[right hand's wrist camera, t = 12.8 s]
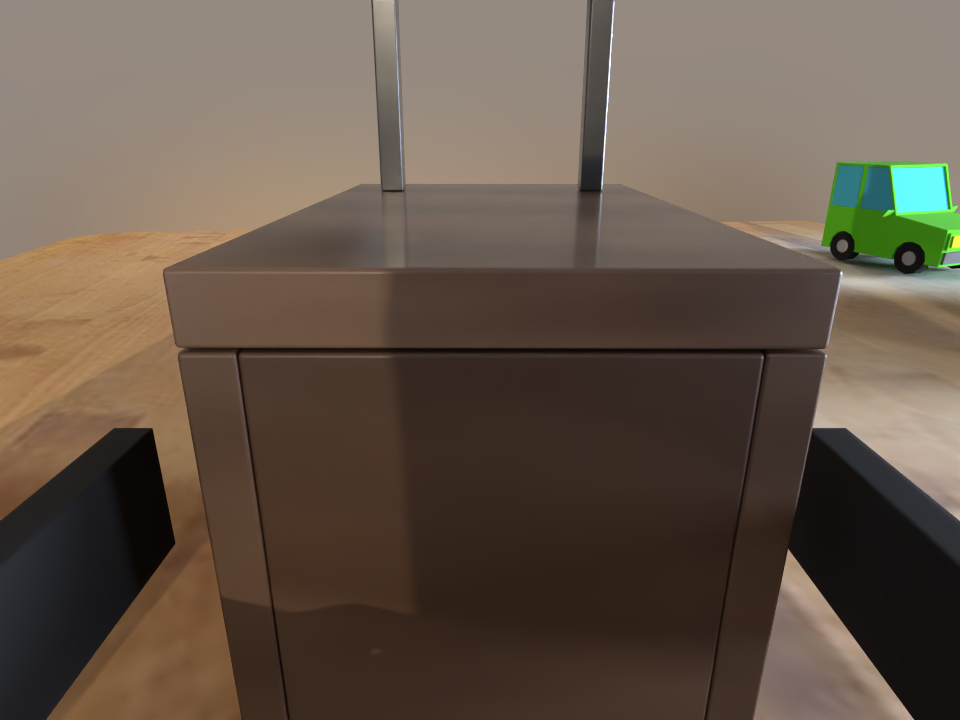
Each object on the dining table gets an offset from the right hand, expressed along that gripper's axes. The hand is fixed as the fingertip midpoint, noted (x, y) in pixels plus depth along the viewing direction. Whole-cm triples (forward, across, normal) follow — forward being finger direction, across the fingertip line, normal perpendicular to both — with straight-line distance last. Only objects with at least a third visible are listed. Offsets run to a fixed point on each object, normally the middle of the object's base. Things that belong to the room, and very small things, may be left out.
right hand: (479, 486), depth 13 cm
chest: (+4, 0, -7) cm, 8 cm away
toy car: (+54, +44, -7) cm, 70 cm away
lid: (+5, 0, +4) cm, 6 cm away
